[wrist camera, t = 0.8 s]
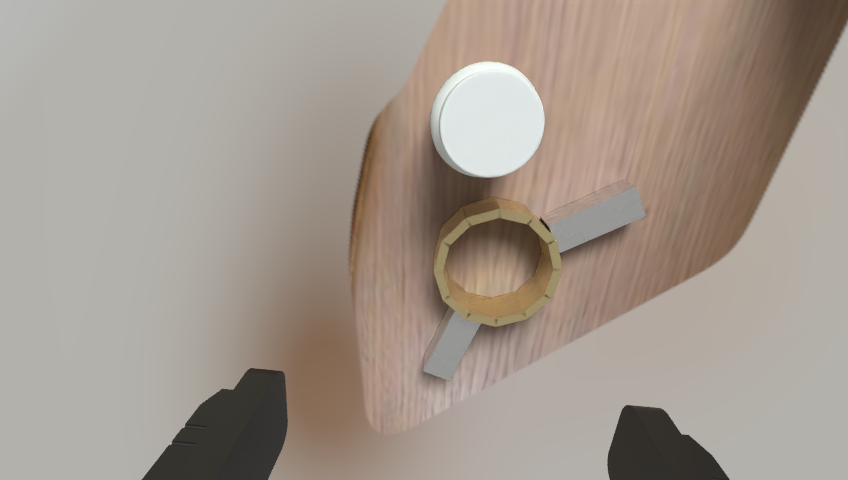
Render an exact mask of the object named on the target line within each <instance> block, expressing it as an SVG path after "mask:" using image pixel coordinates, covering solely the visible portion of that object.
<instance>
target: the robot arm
mask: <svg viewBox="0 0 848 480" xmlns="http://www.w3.org/2000/svg"><path fill="white" fill-rule="evenodd" d="M286 403H287V402H286V386H285V375H284V373H283V372H282V371H275V370H265V369H254V368H251V369H249V370H248V371H247V372H246V373H245V374H244V376H243V377H242V378H241V380H240V382H239V383H238V384H237V386H236V387H235V389H234V390H228V389H221V390H220V391H219V392H217V393H216V394H215V395H213V396H212V397H210V398H209V399H208V400H206V401H205V402H203V403H202V404H201V405H200V406H199V407H198V409H197V410H196V411H195V412H194V414H193V415H192V416H191V418H190V419H189V420H188V421H187V423H186V424H185V428H182V429H181V430H180V432H179V433H178V434H177V435H176V437H175V438H174V439H173V441H172V444H171V445H169V446H168V447H167V448H166V449H165V451H164V452H163V454H162V455H161V456H160V457H159V459H158V460H157V461H156V462H155V464H154V465H153V466H152V467H151V469H150V470H149V471H148V473H147V474H146V475H145V476H144V478H143V479H142V480H268V478H269V476H270V473H271V471H272V469H273V467H274V465H275V463H276V460H277V458H278V456H279V454H280V452H281V450H282V447H283V444H284V441H285V437H286V432H287V422H288V419H287V404H286ZM608 473H609V478H610V480H729V478H728V477H727V475H726V474H725V473H724V471H723V470H722V468H721V467H720V466H719V464H718V463H717V462H716V460H715V459H714V457H713V456H712V455H711V454H710V453H709V452H707V451H706V450H705V449H704V448H703V447H702V446H700V445H699V444H698V443H697V442H696V441H695V440H693V439H692V438H691V437H690V436H689V435H682V434H681V433H680V432H679V430H678V429H677V427H676V426H675V424H674V423H673V421H672V420H671V418H670V417H669V416H668V414H667V413H666V412H665V411H664V410H663V409H661V408H652V407H641V406H631V405H626V406H625V407H624V408H623V409H622V412H621V415H620V418H619V421H618V424H617V428H616V431H615V434H614V437H613V440H612V443H611V447H610V450H609V453H608Z"/></svg>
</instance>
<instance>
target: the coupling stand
mask: <svg viewBox="0 0 848 480" xmlns="http://www.w3.org/2000/svg"><path fill="white" fill-rule="evenodd" d="M645 216H646V214H645V211H644V208H643V205H642V202H641V199H640V196H639V193H638V190H637V187H636V186H634V185H632V184H630V183H627V182H625V181H623V180H620V181H618V182H616V183H614V184H612V185H609V186H607V187H605V188H603V189H600V190H598V191H596V192H594V193H592V194H589V195H587V196H585V197H583V198H581V199H578V200H576V201H574V202H572V203H569V204H567V205H565V206H563V207H561V208H558V209H556V210H554V211H552V212H550V213H547V214H545V215H543V216H541V219H542V221H543V223H544V224H543V223H542V222H541V221H540V220H539V219H538V218H537V217H536V216H535V215H534V214H533V213H532V212H531V211H530V210H529V209H528V208H527V207H526V206H525V205H524V204H521V203H517V202H513V201H509V200H504V199H500V198H496V197H494V198H493V197H491V198H488V199H484V200H481V201H477V202H473V203H470V204H466V205H463V206H462V207H461V208H460V209H459V210H458V211H457V212H456V213H455V214H454V215H453V216H452V217H451V218H450V219H449V220H448V221H447V222H446V223H445V224H444V225H443V226H442V227H441V230H440V233H439V237H438V241H437V245H436V249H435V252H434V275H435V278H436V281H437V284H438V287H439V290H440V294H441V297H442V300H443V301H444V302H445V303H446V304H448V305H449V307H448V309H447V311H446V313H445V315H444V317H443V319H442V321H441V323H440V325H439V327H438V329H437V331H436V333H435V335H434V337H433V338H432V340H431V342H430V344H429V346H428V348H427V350H426V352H425V354H424V372H427V373H429V374H432V375H434V376H437V377H440V378H442V379H445V380H448V381H450V379H451V377H452V375H453V373H454V372H455V370H456V368H457V366H458V364H459V363H460V361H461V359H462V357H463V355H464V354H465V352H466V350H467V348H468V346H469V344H470V343H471V341H472V339H473V337H474V335H475V334H476V332H477V330H478V328H479V326H480V324H486V325H490V326H494V327H498V326H502V325H506V324H510V323H514V322H518V321H522V320H527V319H528V318H530V317H531V316H532V315H533V314H534V313H536V312H537V311H538V310H539V309H540V308H541V307H543V306H544V305H545V304H546V303H547V302H549V301H550V300H551V298H552V297H553V295H554V292H555V289H556V287H557V284H558V282H559V279H560V276H561V274H562V271H563V267H562V263H561V258H560V253H561V252H564V251H566V250H568V249H571V248H573V247H575V246H577V245H580V244H582V243H584V242H587V241H589V240H591V239H594V238H596V237H598V236H601V235H603V234H605V233H608V232H610V231H612V230H615V229H617V228H619V227H622V226H624V225H626V224H629V223H631V222H633V221H636V220H638V219H640V218H643V217H645ZM497 218H502V219H506V220H511V221H515V222H519V223H523V224H528V225H529V226H530V227H531V228H532V229H533V230H534V231H535V232H536V233H537V234H538V236H539V241H540V245H541V250H542V254H541V257H540V260H539V263H538V265H537V268H536V271H535V274H534V276H533V277H532V278H530V279H529V280H528V281H527V282H526V283H525V284H524V285H522V286H521V287H520V288H519V289H518V290H517V291H516V292H513V293H509V294H505V295H501V296H497V297H493V298H489V297H484V296H480V295H475V294H471V293H467V292H466V291H465V290H463V289H462V288H461V287H460V286H459V285H458V284H457V283H455V282H454V281H453V280H452V279H451V278H450V277H449V275H448V272H447V268H446V265H445V261H446V258H447V254H448V250H449V247H450V245H451V244H452V243H453V242H454V241H455V240H456V239H457V238H458V237H459V236H460V235H462V234H463V233H464V232H465V231H466V230H467V229H468V228H469V227H470V226H472V225H475V224H479V223H483V222H486V221H490V220H494V219H497ZM559 252H560V253H559Z"/></svg>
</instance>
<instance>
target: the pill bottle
mask: <svg viewBox="0 0 848 480" xmlns="http://www.w3.org/2000/svg"><path fill="white" fill-rule="evenodd" d="M430 131H431V135H432V139H433V142H434V145H435V148H436V150H437V152H438V153H439V155H440V156H441V158H442V159H443V160H444V161H445V162H446V163H447V164H448V165H449V166H451V167H452V168H453V169H455V170H456V171H458V172H460V173H462V174H465V175H468V176H472V177H484V178H493V177H500V176H504V175H507V174H510V173H512V172H514V171H516V170H517V169H519V168H521V167H522V166H523V165H524V164H525V163H526V162H528V160H529V159H530V158H531V157H532V156H533V155H534V153H535V152H536V150H537V148H538V146H539V144H540V142H541V139H542V136H543V132H544V110H543V106H542V103H541V100H540V98H539V96H538V94H537V92H536V90H535V88H534V87H533V85H532V84H531V82H530V81H529V80H528V79H527V78H526V77H525V76H524V75H523V74H522V73H521V72H520V71H518V70H517V69H516V68H514V67H512V66H510V65H508V64H504V63H498V62H479V63H475V64H471V65H469V66H466V67H465V68H463V69H461V70H460V71H458V72H456V73H455V74H454V75H452V76H451V77H450V78H449V79H448V80H447V81H446V82H445V83H444V85H443V86H442V87H441V89H440V91H439V92H438V94H437V96H436V98H435V100H434V103H433V106H432V110H431V115H430Z"/></svg>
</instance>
